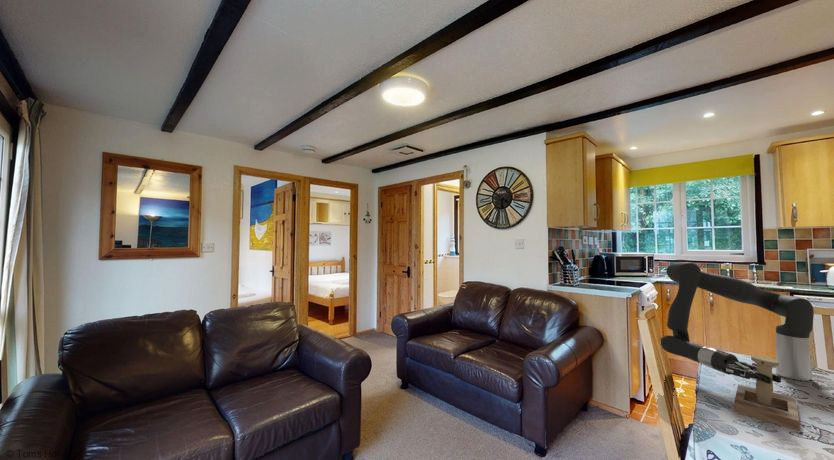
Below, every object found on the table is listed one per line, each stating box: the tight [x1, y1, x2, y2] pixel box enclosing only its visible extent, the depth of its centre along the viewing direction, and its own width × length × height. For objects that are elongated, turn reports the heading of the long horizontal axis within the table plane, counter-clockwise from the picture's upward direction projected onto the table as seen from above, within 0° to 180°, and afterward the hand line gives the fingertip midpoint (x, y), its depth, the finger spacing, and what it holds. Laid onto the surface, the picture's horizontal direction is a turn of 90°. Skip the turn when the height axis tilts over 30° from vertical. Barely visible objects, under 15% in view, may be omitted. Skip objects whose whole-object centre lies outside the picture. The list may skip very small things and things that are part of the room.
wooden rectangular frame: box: [733, 383, 800, 431], centre depth 109 cm, size 20×14×3 cm
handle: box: [750, 354, 779, 406], centre depth 110 cm, size 5×6×15 cm
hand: (775, 380), depth 107 cm, fingers closed on handle, 3 cm apart
